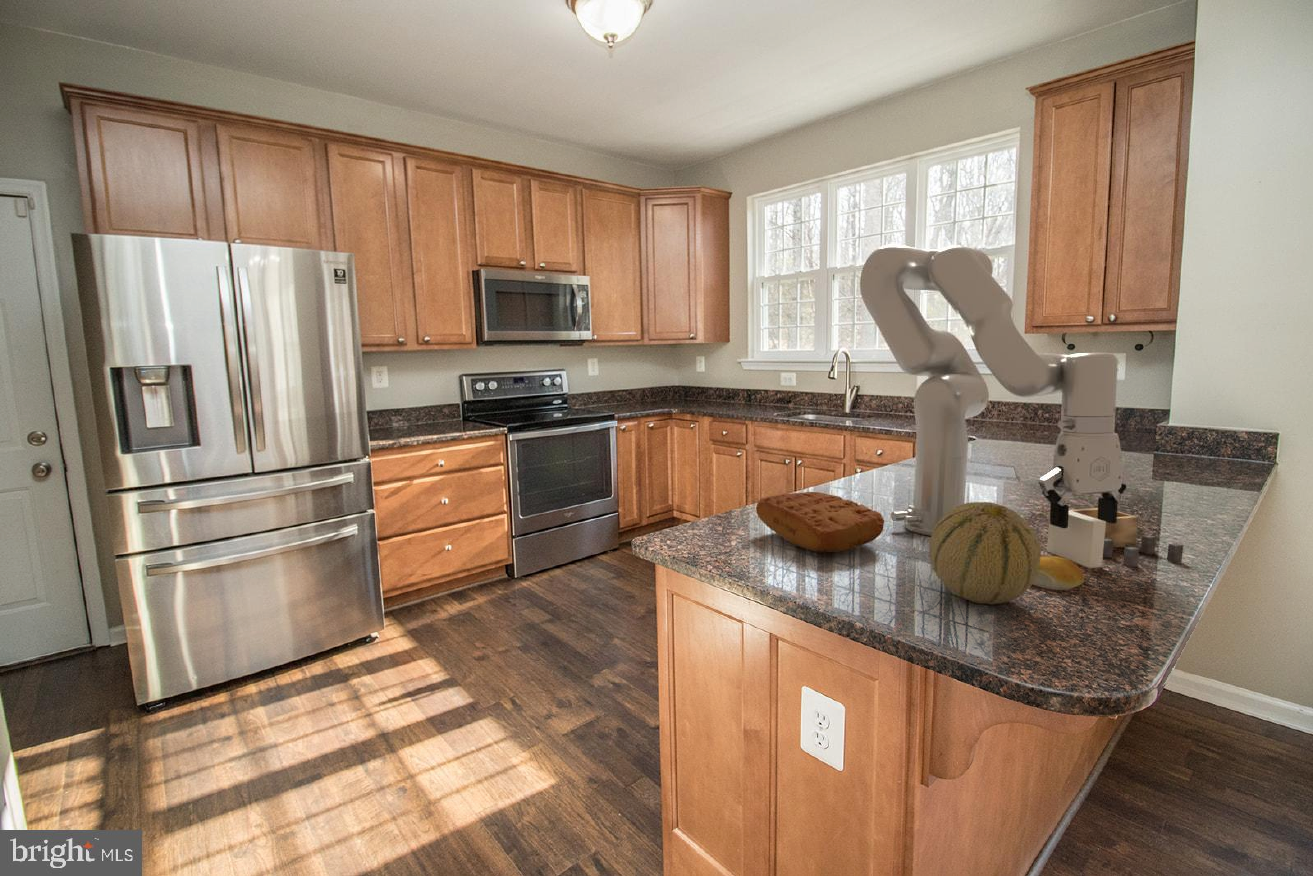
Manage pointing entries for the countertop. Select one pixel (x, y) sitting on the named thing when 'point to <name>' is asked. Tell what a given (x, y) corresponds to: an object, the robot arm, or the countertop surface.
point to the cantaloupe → (984, 552)
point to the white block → (1078, 540)
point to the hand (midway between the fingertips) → (1082, 524)
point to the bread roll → (1058, 574)
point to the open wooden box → (1130, 538)
